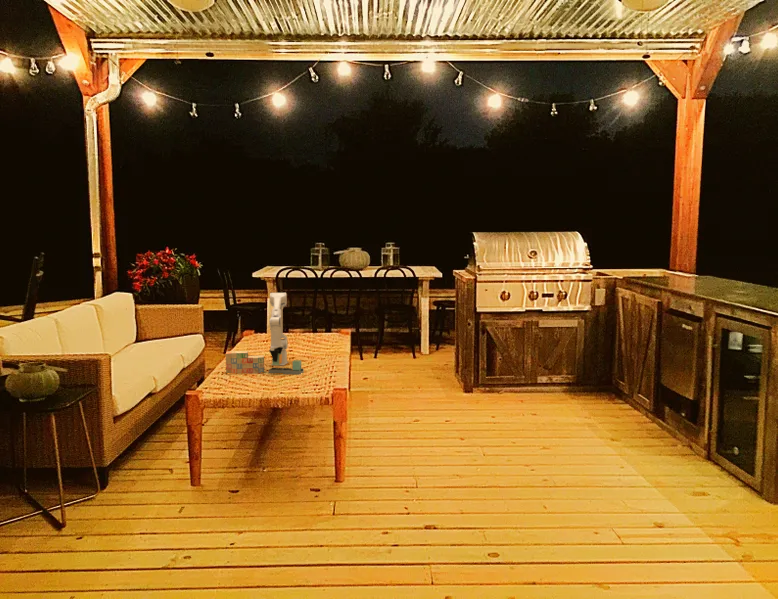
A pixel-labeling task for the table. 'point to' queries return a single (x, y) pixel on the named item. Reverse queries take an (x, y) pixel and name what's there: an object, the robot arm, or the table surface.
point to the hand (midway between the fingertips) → (276, 360)
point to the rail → (289, 369)
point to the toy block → (278, 360)
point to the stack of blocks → (243, 362)
